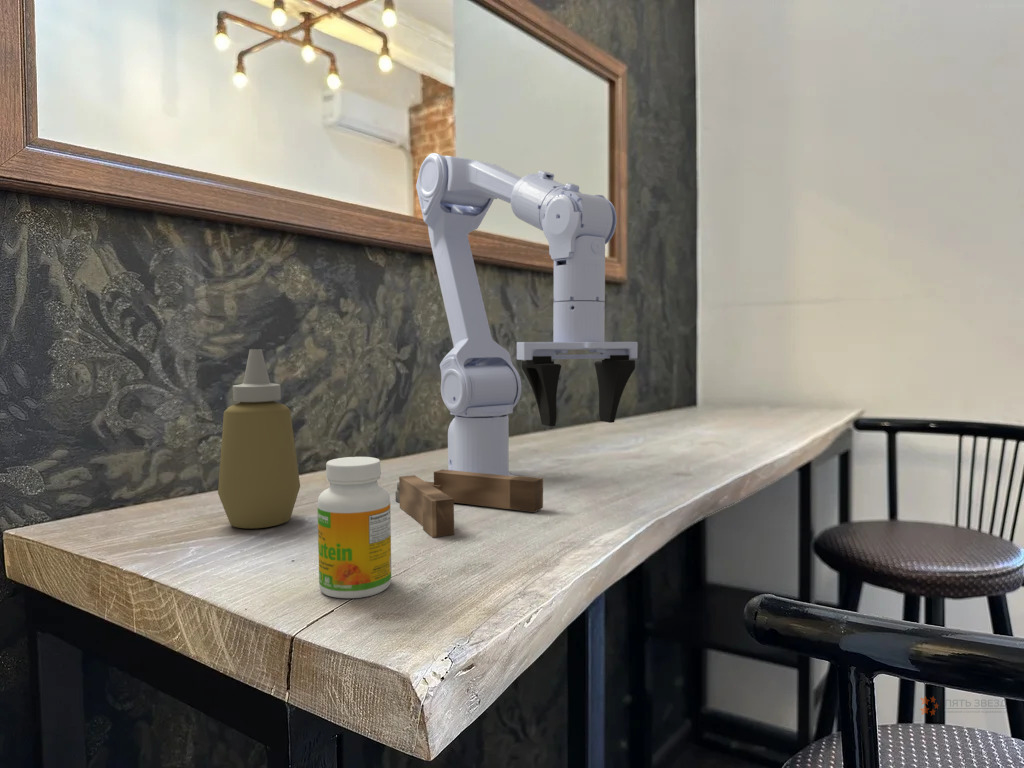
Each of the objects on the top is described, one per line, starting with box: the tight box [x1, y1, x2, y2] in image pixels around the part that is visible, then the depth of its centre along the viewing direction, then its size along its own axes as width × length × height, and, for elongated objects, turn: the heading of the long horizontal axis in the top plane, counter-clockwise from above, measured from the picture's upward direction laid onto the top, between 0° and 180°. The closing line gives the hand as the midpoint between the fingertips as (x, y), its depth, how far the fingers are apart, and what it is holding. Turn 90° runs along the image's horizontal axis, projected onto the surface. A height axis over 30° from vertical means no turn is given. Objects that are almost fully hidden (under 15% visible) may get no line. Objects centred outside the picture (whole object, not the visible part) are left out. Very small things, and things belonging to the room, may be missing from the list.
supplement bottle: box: [317, 456, 392, 599], centre depth 51 cm, size 5×5×10 cm
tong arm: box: [396, 469, 544, 513], centre depth 77 cm, size 18×4×3 cm, turn 63°
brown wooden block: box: [394, 474, 455, 538], centre depth 74 cm, size 18×4×4 cm, turn 25°
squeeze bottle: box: [217, 348, 301, 529], centre depth 70 cm, size 8×8×18 cm
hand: (578, 423), depth 77 cm, fingers open, 7 cm apart
